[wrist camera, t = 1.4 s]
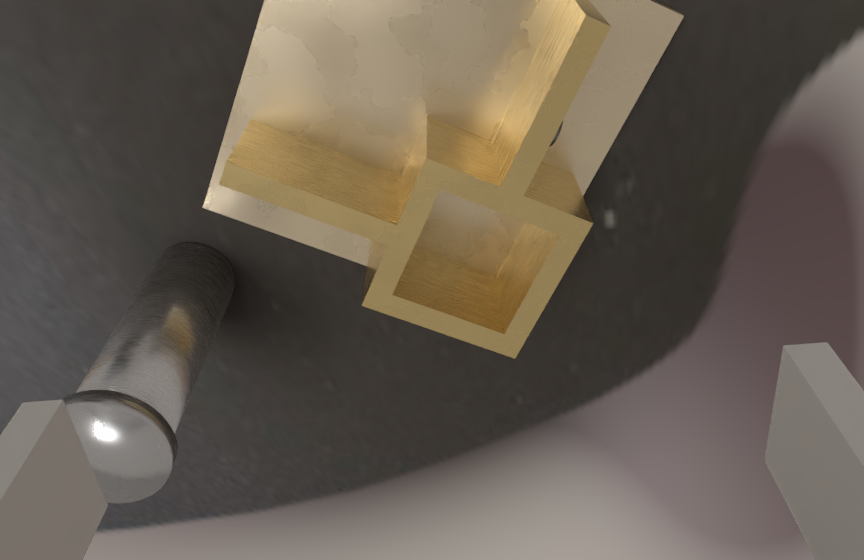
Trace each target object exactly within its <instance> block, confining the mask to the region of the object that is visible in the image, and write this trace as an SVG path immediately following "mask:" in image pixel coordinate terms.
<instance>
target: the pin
mask: <svg viewBox="0 0 864 560" xmlns="http://www.w3.org/2000/svg"><path fill="white" fill-rule="evenodd" d="M234 288H235V275H234V272H233V269H232V267H231V265H230V264H229V262H228V261H227V259H226V258H225V257H224V256H223V255H222V254H220V253H219V252H218V251H216V250H215V249H213V248H211V247H209V246H206V245H203V244H200V243H192V242H186V243H179V244H176V245H173V246H171V247H169V248H167V249H166V250H165V251H164V252H163V253H162V254H161V255H160V256H159V258H158V259H157V261H156V263H155V264H154V266H153V268H152V269H151V271H150V272H149V274H148V276H147V277H146V279H145V281H144V282H143V284H142V285H141V287H140V289H139V290H138V292H137V294H136V295H135V297H134V298H133V300H132V302H131V303H130V305H129V307H128V308H127V310H126V311H125V313H124V315H123V316H122V318H121V320H120V321H119V323H118V324H117V326H116V328H115V329H114V331H113V333H112V334H111V336H110V337H109V339H108V341H107V342H106V344H105V346H104V347H103V349H102V350H101V352H100V354H99V355H98V357H97V359H96V360H95V362H94V363H93V365H92V367H91V368H90V370H89V372H88V373H87V375H86V376H85V378H84V380H83V381H82V383H81V385H80V386H79V388H78V389H77V391H76V393H74V394H72V395H69V396H67V397H65V398H64V399H62V400H63V401H64V403H65V406H66V408H67V410H68V413H69V415H70V417H71V420H72V422H73V425H74V427H75V429H76V432H77V434H78V436H79V439H80V441H81V443H82V446H83V448H84V451H85V453H86V455H87V458H88V460H89V462H90V465H91V467H92V470H93V472H94V474H95V477H96V479H97V481H98V484H99V486H100V488H101V491H102V493H103V496H104V498H105V500H106V502H107V503H128V502H134V501H138V500H142V499H144V498H147V497H149V496H151V495H153V494H154V493H156V492H157V491H158V490H160V488H161V487H162V486H163V485H164V484H165V483H166V481H167V479H168V477H169V475H170V472H171V470H172V467H173V465H174V462H175V460H176V456H177V440H176V437H175V431H176V429H177V427H178V424H179V422H180V419H181V417H182V415H183V412H184V410H185V407H186V405H187V403H188V400H189V398H190V395H191V393H192V391H193V388H194V386H195V383H196V381H197V378H198V376H199V374H200V371H201V369H202V366H203V364H204V362H205V359H206V357H207V354H208V352H209V350H210V347H211V345H212V342H213V340H214V337H215V335H216V333H217V330H218V328H219V325H220V323H221V321H222V318H223V316H224V313H225V311H226V309H227V306H228V304H229V301H230V299H231V297H232V294H233V292H234Z"/></svg>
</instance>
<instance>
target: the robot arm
mask: <svg viewBox="0 0 864 560" xmlns="http://www.w3.org/2000/svg"><path fill="white" fill-rule="evenodd" d="M764 461H765V463H766V465H767V467H768V468H769V470H770V472H771V474H772V476H773V478H774V480H775V482H776V484H777V486H778V488H779V490H780V492H781V494H782V496H783V497H784V500H785V501H786V503H787V505H788V507H789V509H790V511H791V513H792V515H793V517H794V519H795V521H796V522H797V525H798V527H799V529H800V530H801V533H802V534H803V536H804V538H805V540H806V542H807V544H808V546H809V548H810V550H811V552H812V554H813V556H814V558H815V560H864V391H863V389H862V388H861V387H860V385H859V384H858V383H857V382H856V380H855V379H854V377H853V376H852V375H851V373H850V372H849V371H848V369H847V368H846V367H845V365H844V364H843V363H842V362H841V360H840V359H839V358H838V356H837V355H836V353H835V352H834V351H833V349H832V348H831V347H830V346H829V344H828V343H827V342H826V343H825V342H824V343H811V344H798V345H784V346H783V351H782V357H781V363H780V369H779V375H778V381H777V387H776V393H775V399H774V405H773V411H772V417H771V423H770V429H769V435H768V442H767V447H766V453H765V459H764ZM107 506H108V505H107V503H106V500H105V498H104V496H103V493H102V491H101V488H100V486H99V484H98V481H97V479H96V477H95V474H94V472H93V470H92V467H91V465H90V462H89V460H88V458H87V455H86V453H85V451H84V448H83V446H82V443H81V441H80V439H79V436H78V434H77V432H76V429H75V427H74V425H73V422H72V420H71V417H70V415H69V413H68V410H67V408H66V406H65V403H64V401H63V400H52V401H39V402H25V403H22V404H21V406H20V407H19V409H18V410H17V412H16V413H15V415H14V416H13V418H12V419H11V421H10V422H9V423H8V425H7V426H6V428H5V429H4V431H3V432H2V434H1V435H0V560H83V558H84V556H85V553H86V551H87V549H88V547H89V545H90V543H91V541H92V538H93V536H94V534H95V532H96V530H97V528H98V526H99V523H100V521H101V519H102V517H103V515H104V513H105V510H106V508H107Z"/></svg>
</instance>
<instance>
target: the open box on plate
mask: <svg viewBox="0 0 864 560" xmlns="http://www.w3.org/2000/svg"><path fill="white" fill-rule="evenodd" d="M683 17H684V15H682V14H681V13H680V12H679V11H677V10H675V9H673V8H671V7H668V6H666V5H664V4H662V3H660V2H658V1H655V0H264V3H263V6H262V10H261V13H260V17H259V20H258V23H257V27H256V30H255V33H254V37H253V40H252V43H251V47H250V50H249V54H248V57H247V60H246V64H245V67H244V70H243V74H242V77H241V81H240V84H239V87H238V91H237V94H236V97H235V101H234V104H233V107H232V111H231V114H230V118H229V121H228V124H227V128H226V131H225V134H224V138H223V141H222V145H221V148H220V151H219V155H218V158H217V161H216V165H215V168H214V171H213V175H212V178H211V182H210V185H209V188H208V192H207V195H206V198H205V202H204V205H203V208H205V209H208V210H211V211H213V212H216V213H219V214H222V215H225V216H227V217H230V218H233V219H236V220H239V221H242V222H244V223H247V224H250V225H253V226H256V227H258V228H261V229H264V230H267V231H270V232H272V233H275V234H278V235H281V236H284V237H286V238H289V239H292V240H295V241H298V242H301V243H303V244H306V245H309V246H312V247H315V248H317V249H320V250H323V251H326V252H329V253H331V254H334V255H337V256H340V257H343V258H345V259H348V260H351V261H354V262H357V263H359V264H362V265H365V266H367V271H366V278H365V285H364V292H363V299H362V306H364V307H367V308H370V309H373V310H376V311H378V312H381V313H384V314H387V315H390V316H393V317H396V318H399V319H402V320H404V321H407V322H410V323H413V324H416V325H419V326H422V327H425V328H428V329H431V330H433V331H436V332H439V333H442V334H445V335H448V336H451V337H454V338H457V339H460V340H462V341H465V342H468V343H471V344H474V345H477V346H480V347H483V348H486V349H489V350H491V351H494V352H497V353H500V354H503V355H506V356H509V357H512V358H516V356H517V354H518V353H519V351H520V349H521V348H522V346H523V344H524V342H525V341H526V339H527V337H528V335H529V334H530V332H531V330H532V329H533V327H534V325H535V323H536V322H537V320H538V318H539V316H540V315H541V313H542V311H543V310H544V308H545V306H546V304H547V303H548V301H549V299H550V297H551V296H552V294H553V292H554V291H555V289H556V287H557V285H558V284H559V282H560V280H561V279H562V277H563V275H564V273H565V272H566V270H567V268H568V266H569V265H570V263H571V261H572V260H573V258H574V256H575V254H576V253H577V251H578V249H579V247H580V246H581V244H582V242H583V241H584V239H585V237H586V235H587V234H588V232H589V230H590V228H591V227H592V225H593V221H592V218H591V216H590V213H589V211H588V208H587V206H586V203H585V201H584V198H583V195H584V194H585V192H586V190H587V188H588V186H589V185H590V183H591V181H592V179H593V178H594V176H595V174H596V172H597V170H598V169H599V167H600V165H601V163H602V162H603V160H604V158H605V156H606V154H607V153H608V151H609V149H610V147H611V146H612V144H613V142H614V140H615V138H616V137H617V135H618V133H619V131H620V129H621V128H622V126H623V124H624V122H625V121H626V119H627V117H628V115H629V113H630V112H631V110H632V108H633V106H634V105H635V103H636V101H637V99H638V97H639V96H640V94H641V92H642V90H643V88H644V87H645V85H646V83H647V81H648V80H649V78H650V76H651V74H652V72H653V71H654V69H655V67H656V65H657V64H658V62H659V60H660V58H661V56H662V55H663V53H664V51H665V49H666V48H667V46H668V44H669V42H670V40H671V39H672V37H673V35H674V33H675V31H676V30H677V28H678V26H679V24H680V23H681V21H682V19H683Z"/></svg>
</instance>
